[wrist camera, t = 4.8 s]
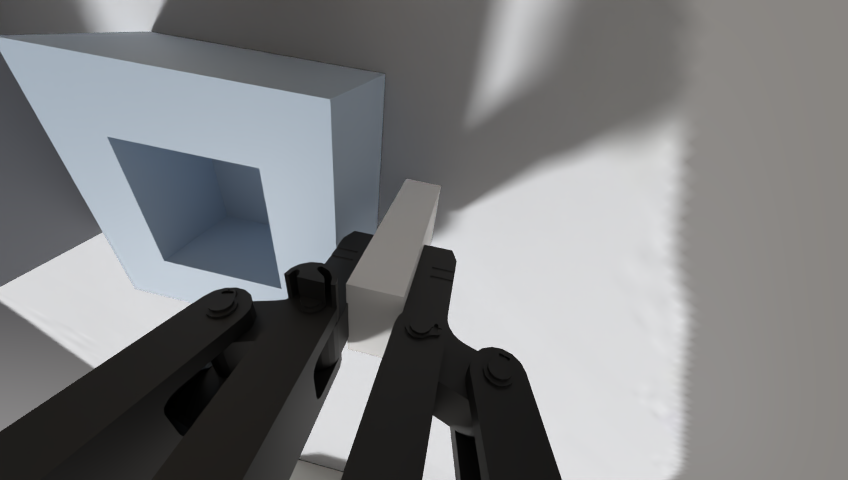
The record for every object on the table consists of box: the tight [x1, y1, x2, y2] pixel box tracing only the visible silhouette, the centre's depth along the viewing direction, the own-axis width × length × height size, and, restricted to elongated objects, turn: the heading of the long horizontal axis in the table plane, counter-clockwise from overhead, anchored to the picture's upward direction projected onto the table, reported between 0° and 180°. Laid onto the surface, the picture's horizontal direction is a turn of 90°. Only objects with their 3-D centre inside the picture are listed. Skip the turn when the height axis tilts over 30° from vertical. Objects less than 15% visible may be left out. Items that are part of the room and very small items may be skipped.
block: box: [0, 32, 385, 303], centre depth 13 cm, size 10×10×5 cm
